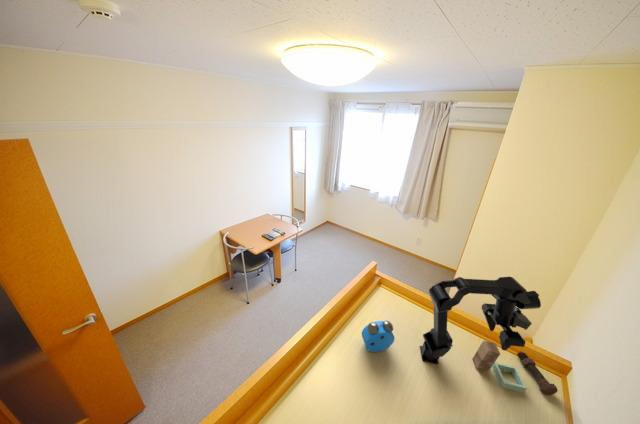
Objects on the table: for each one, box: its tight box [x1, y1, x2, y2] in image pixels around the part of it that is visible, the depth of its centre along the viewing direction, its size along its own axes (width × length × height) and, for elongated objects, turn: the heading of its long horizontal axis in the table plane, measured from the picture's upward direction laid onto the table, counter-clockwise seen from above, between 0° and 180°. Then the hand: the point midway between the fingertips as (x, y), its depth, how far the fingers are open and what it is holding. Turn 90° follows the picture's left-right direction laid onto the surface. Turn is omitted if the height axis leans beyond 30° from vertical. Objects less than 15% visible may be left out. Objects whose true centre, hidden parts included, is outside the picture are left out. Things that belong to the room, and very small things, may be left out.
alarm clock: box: [361, 320, 395, 353], centre depth 98 cm, size 13×6×15 cm, turn 100°
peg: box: [472, 340, 501, 373], centre depth 93 cm, size 4×4×13 cm
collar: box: [491, 361, 528, 393], centre depth 91 cm, size 8×8×3 cm
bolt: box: [516, 351, 559, 396], centre depth 93 cm, size 6×5×15 cm
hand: (497, 339), depth 89 cm, fingers open, 9 cm apart
